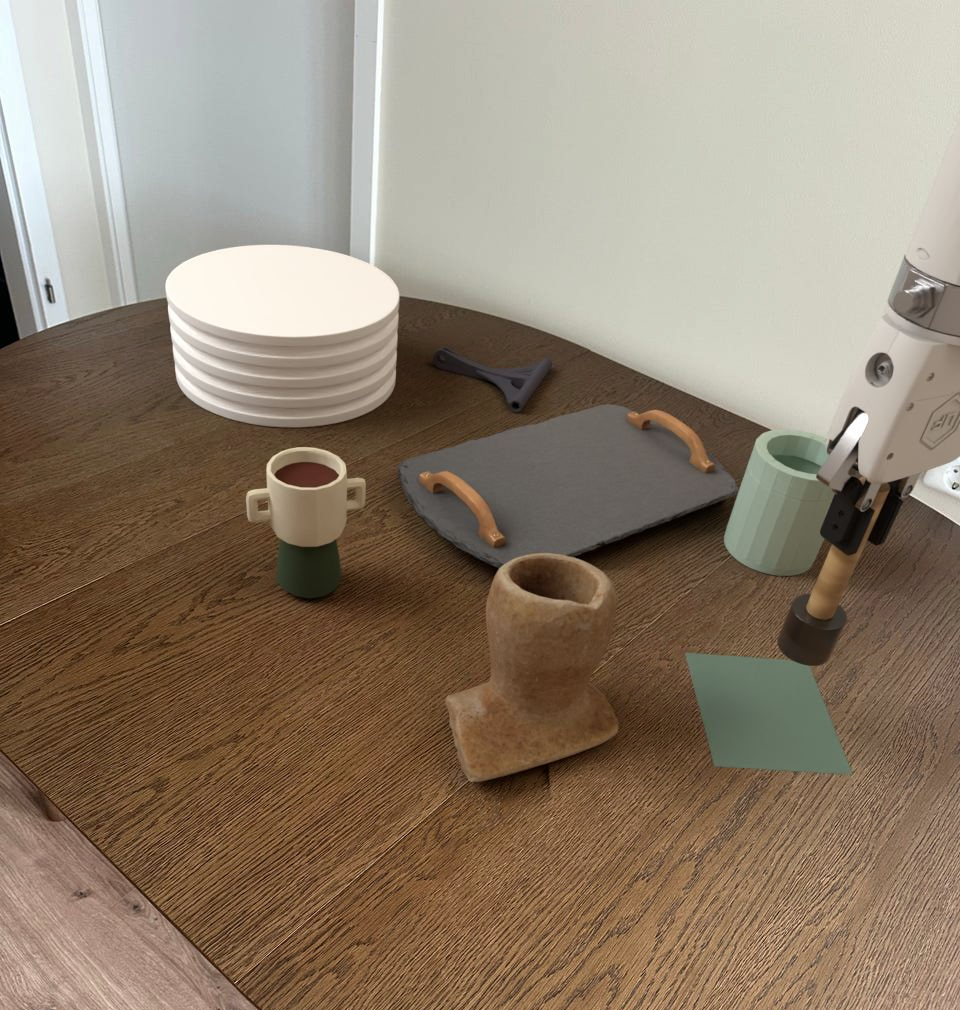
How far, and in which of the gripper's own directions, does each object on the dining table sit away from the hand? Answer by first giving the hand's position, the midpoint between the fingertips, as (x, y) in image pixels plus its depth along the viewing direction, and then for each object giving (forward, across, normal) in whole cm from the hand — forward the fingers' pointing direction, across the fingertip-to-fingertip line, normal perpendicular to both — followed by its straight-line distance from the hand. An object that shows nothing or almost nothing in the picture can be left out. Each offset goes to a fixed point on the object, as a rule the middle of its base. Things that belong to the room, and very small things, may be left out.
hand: (851, 538), depth 70 cm
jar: (+20, +19, +20) cm, 34 cm away
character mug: (+20, -30, +34) cm, 49 cm away
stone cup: (+20, -21, +9) cm, 30 cm away
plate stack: (+20, -15, +75) cm, 79 cm away
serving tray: (+20, +3, +37) cm, 42 cm away
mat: (+20, 0, +1) cm, 20 cm away
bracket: (+20, +10, +66) cm, 69 cm away
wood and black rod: (+11, 0, 0) cm, 11 cm away
